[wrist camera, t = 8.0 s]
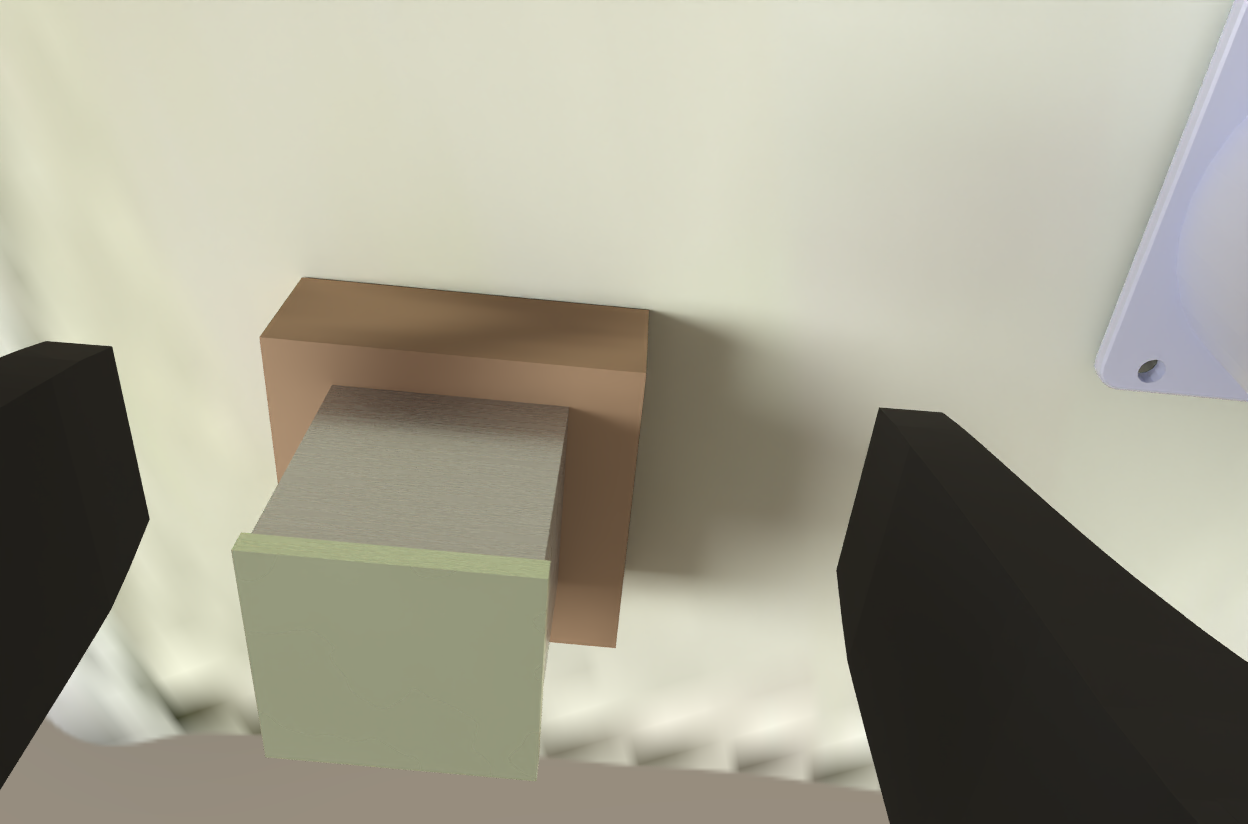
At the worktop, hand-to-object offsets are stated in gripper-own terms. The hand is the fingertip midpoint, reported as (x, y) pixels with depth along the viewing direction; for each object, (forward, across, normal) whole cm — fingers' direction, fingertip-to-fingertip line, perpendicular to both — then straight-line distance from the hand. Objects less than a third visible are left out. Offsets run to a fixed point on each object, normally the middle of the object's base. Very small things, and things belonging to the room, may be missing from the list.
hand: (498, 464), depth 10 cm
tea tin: (+8, +2, +7) cm, 11 cm away
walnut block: (+10, +2, +7) cm, 13 cm away
